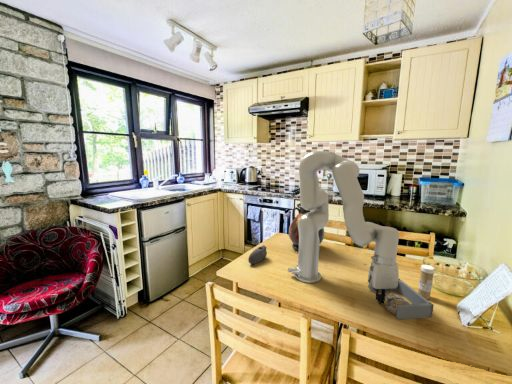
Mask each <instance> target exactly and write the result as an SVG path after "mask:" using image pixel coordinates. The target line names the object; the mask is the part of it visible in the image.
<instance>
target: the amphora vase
mask: <svg viewBox="0 0 512 384" xmlns="http://www.w3.org/2000/svg"><path fill="white" fill-rule="evenodd" d="M296 211H297V212H298V214H297V215H295V214H296ZM308 212H310V210H305V209H303V208H302V206H301V203H300V202H299V203H297V204H296V207H294V208H293V209H292V212H291V223H290V225H289V227H288V237H289V239H290V241H291V243H292V244H291V246H292V249H293V250H295V251H296V252H298V253H299V231H298V221H299V219H300V217H301V216H302V215H304V214H306V213H308ZM318 235H319V241H320V244H319V245H321V244H322V243H323V240H324V239H325V227H324V228H322V229H320V230H319V231H318Z"/></svg>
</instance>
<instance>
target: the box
mask: <svg viewBox="0 0 512 384" xmlns="http://www.w3.org/2000/svg"><path fill="white" fill-rule="evenodd" d="M391 291H392V292H395V291H397V292H398V293H399V294H400V295H402V296H403V297H404V298H405V299H407V300H408V301H409V303H410V304H404V305H398V306H397V314H395V315H396V316H395V318H396V319H397V320H408V319H409V320H411V319H412V320H413V319H423V318H425V319H426V318H432V317H433V313H434V312H433V311H434V306H435V305H434V303H432V302H430V301H429V299H425V298H424V297H423V296H421V295H420V294H419V293H418V291H416V290H415V289H414V288H412V287H411V286H410V285H408V284H407V283H405V281H404V280H402V279H400V278H399V277H398V286H397V287H396V288H393V289H390V290H389V291H388V292H391ZM369 292H371V293H376V291H375V290H371V289H369Z"/></svg>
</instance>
